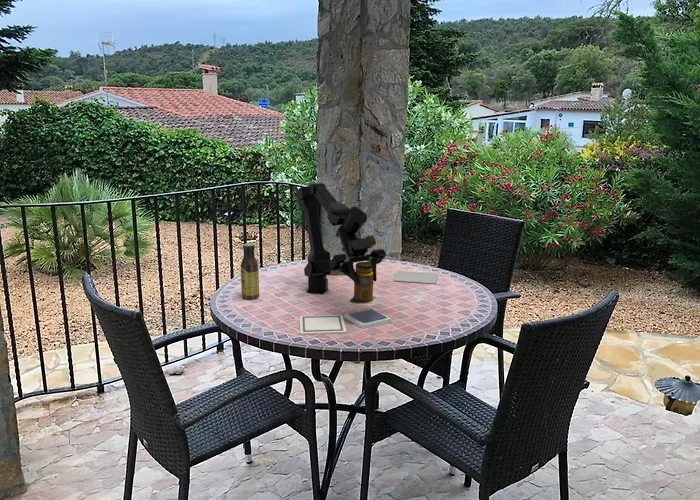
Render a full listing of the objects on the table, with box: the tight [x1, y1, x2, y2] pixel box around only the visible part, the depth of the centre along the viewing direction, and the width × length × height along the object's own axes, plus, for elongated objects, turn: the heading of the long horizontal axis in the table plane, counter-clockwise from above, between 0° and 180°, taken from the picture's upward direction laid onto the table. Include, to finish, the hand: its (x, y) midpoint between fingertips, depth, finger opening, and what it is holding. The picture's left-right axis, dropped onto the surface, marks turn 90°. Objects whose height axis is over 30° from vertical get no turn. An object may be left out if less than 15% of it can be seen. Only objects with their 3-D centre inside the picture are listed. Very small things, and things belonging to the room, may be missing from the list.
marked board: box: [299, 314, 347, 336], centre depth 173 cm, size 14×14×1 cm
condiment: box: [347, 261, 377, 306], centre depth 174 cm, size 7×8×12 cm
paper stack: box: [393, 270, 438, 284], centre depth 220 cm, size 23×25×1 cm
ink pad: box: [343, 308, 392, 330], centre depth 178 cm, size 11×11×2 cm
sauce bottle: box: [240, 242, 260, 300], centre depth 196 cm, size 6×6×20 cm
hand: (367, 282), depth 173 cm, fingers closed on condiment, 6 cm apart
